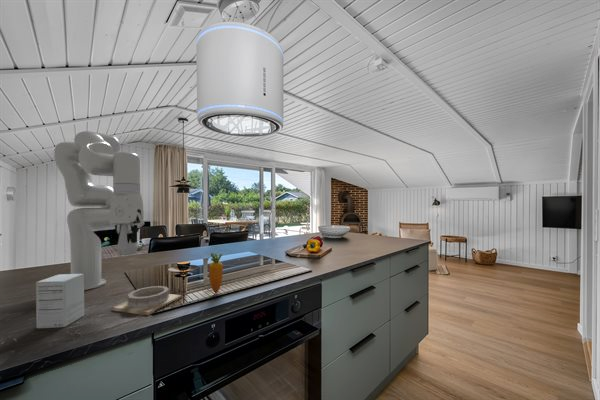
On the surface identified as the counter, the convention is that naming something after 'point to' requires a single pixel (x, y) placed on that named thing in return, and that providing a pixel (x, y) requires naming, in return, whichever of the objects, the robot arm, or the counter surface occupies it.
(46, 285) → the supplement box
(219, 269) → the carrot
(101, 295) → the counter surface
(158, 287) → the ring holder
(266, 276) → the counter surface
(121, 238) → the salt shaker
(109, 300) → the counter surface
